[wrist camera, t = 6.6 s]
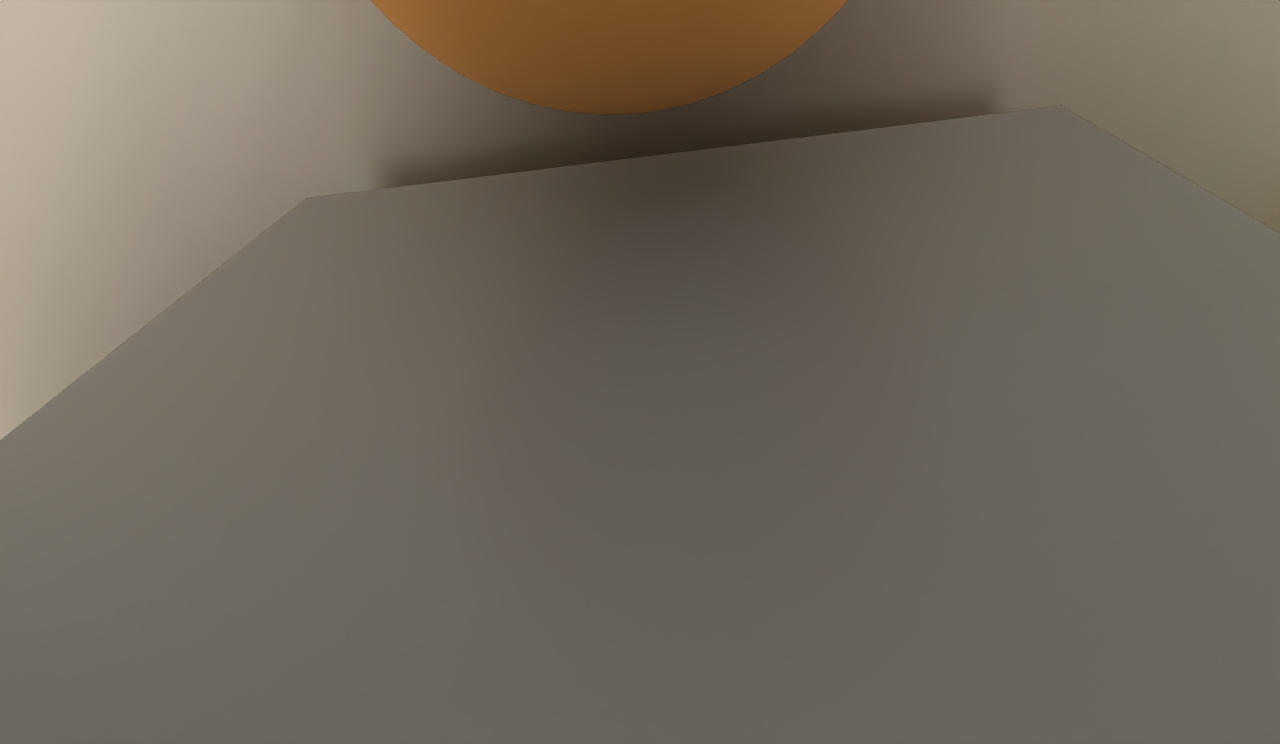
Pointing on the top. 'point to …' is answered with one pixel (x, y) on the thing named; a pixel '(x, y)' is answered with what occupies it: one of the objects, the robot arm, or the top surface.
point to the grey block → (680, 463)
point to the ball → (610, 46)
